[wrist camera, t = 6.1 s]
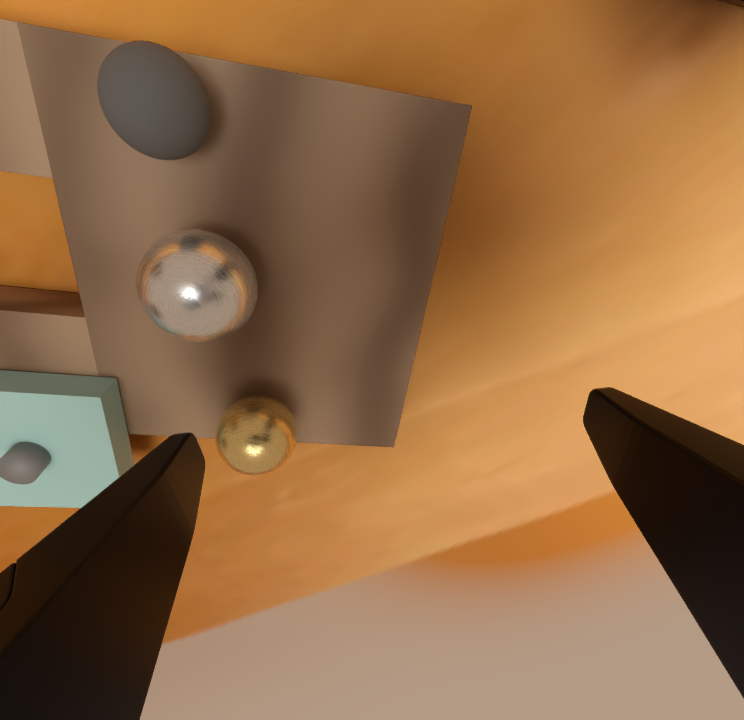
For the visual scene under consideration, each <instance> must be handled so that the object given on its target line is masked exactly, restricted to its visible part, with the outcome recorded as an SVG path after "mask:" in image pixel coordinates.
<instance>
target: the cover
mask: <svg viewBox="0 0 744 720" xmlns="http://www.w3.org/2000/svg"><path fill="white" fill-rule="evenodd" d="M133 466H134V460H133V455H132V450H131V446H130V441H129V436H128V431H127V426H126V421H125V416H124V412H123V407H122V402H121V397H120V392H119V387H118V382H117V378H107V377H93V376H78V375H64V374H49V373H35V372H20V371H6V370H0V506H28V507H69V508H82V507H83V506H84V505H85V504H87V503H88V502H89V501H90V500H92V499H93V498H94V497H95V496H97V495H98V494H99V493H100V492H102V491H103V490H104V489H105V488H107V487H108V486H109V485H110V484H111V483H113V482H114V481H115V480H116V479H118V478H119V477H120V476H121V475H123V474H124V473H125V472H126V471H128V470H129V469H130V468H131V467H133Z"/></svg>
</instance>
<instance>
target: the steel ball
mask: <svg viewBox="0 0 744 720" xmlns="http://www.w3.org/2000/svg"><path fill="white" fill-rule="evenodd" d="M136 287H137V293H138V297H139V300H140V303H141V305H142V307H143V309H144V311H145V312H146V314H147V315H148V317H149V318H150V319H151V320H152V321H153V322H154V323H155V324H156V325H157V326H158V327H159V328H160V329H162V330H163V331H165V332H166V333H168V334H170V335H172V336H174V337H176V338H179V339H181V340H185V341H189V342H197V343H204V342H213V341H218V340H221V339H224V338H226V337H228V336H230V335H232V334H234V333H235V332H237V331H238V330H239V329H240V328H241V327H242V326H243V325H245V323H246V322H247V321H248V320H249V318H250V316H251V314H252V313H253V311H254V308H255V305H256V301H257V296H258V284H257V278H256V274H255V271H254V268H253V266H252V264H251V262H250V261H249V259H248V258H247V256H246V255H245V254H244V253H243V251H242V250H241V249H240V248H239V247H238V246H236V245H235V244H234V243H233V242H231V241H230V240H228V239H227V238H225V237H223V236H221V235H219V234H216V233H213V232H210V231H206V230H200V229H188V230H180V231H175V232H173V233H170V234H168V235H165V236H164V237H162V238H160V239H159V240H157V241H156V242H155V243H154V244H152V245H151V247H150V248H149V249H148V250H147V251H146V252H145V254H144V256H143V257H142V259H141V262H140V264H139V267H138V271H137V278H136Z"/></svg>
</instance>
